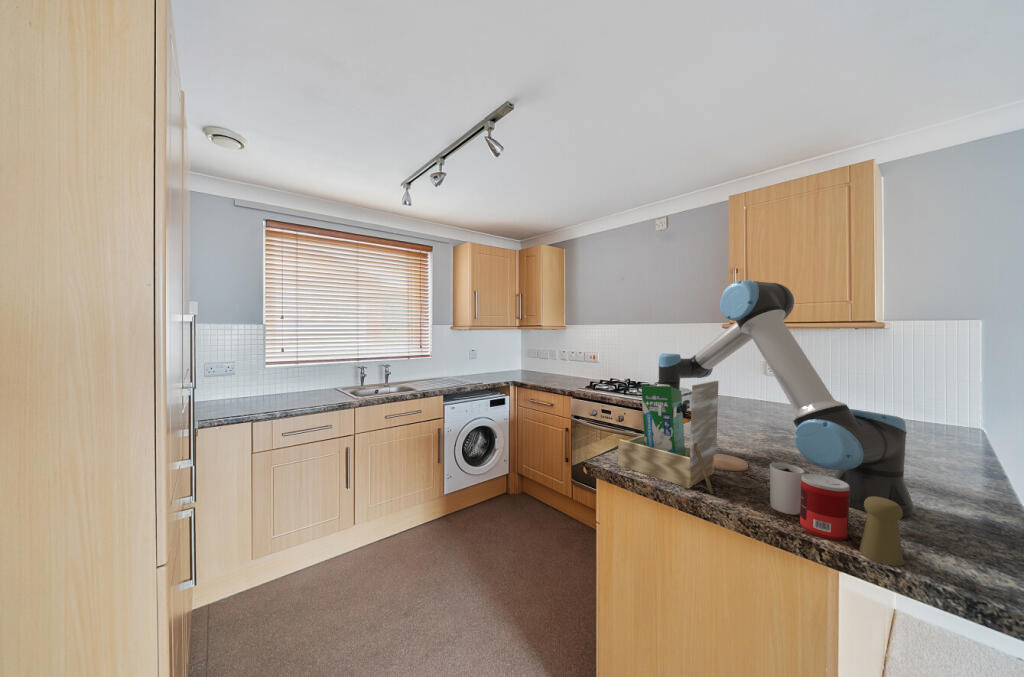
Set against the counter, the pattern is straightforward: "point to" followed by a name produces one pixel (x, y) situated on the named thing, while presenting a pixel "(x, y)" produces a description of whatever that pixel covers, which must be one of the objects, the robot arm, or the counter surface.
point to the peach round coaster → (729, 463)
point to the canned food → (824, 506)
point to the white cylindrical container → (785, 487)
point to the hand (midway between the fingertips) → (667, 411)
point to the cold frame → (696, 456)
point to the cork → (882, 531)
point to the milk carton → (663, 419)
